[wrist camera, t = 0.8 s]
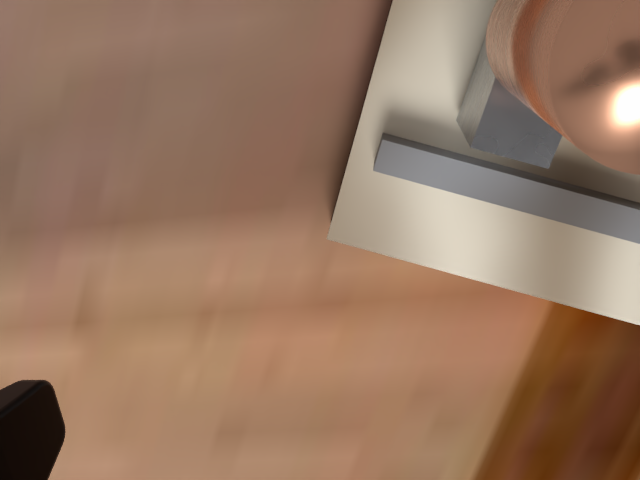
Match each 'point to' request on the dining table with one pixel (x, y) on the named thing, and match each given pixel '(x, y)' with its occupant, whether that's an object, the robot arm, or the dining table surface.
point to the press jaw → (557, 82)
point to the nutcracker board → (479, 180)
